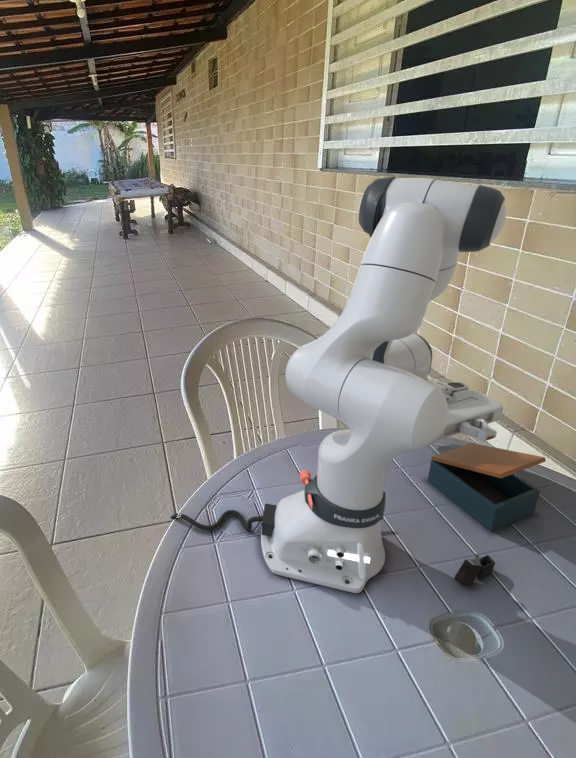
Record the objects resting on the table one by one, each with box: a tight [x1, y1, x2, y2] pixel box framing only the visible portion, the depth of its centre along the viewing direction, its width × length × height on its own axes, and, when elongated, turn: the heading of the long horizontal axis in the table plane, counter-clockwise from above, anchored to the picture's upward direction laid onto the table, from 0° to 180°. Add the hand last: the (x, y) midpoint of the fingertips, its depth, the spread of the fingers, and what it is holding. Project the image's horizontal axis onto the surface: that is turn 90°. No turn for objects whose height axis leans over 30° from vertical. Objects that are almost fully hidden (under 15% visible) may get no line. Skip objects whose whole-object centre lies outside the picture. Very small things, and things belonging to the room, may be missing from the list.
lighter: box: [453, 553, 496, 586], centre depth 72 cm, size 8×2×5 cm
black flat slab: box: [455, 469, 511, 504], centre depth 88 cm, size 11×8×1 cm
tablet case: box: [427, 459, 541, 532], centre depth 87 cm, size 15×12×6 cm
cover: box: [430, 442, 547, 478], centre depth 85 cm, size 15×12×1 cm
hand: (490, 436), depth 83 cm, fingers closed
